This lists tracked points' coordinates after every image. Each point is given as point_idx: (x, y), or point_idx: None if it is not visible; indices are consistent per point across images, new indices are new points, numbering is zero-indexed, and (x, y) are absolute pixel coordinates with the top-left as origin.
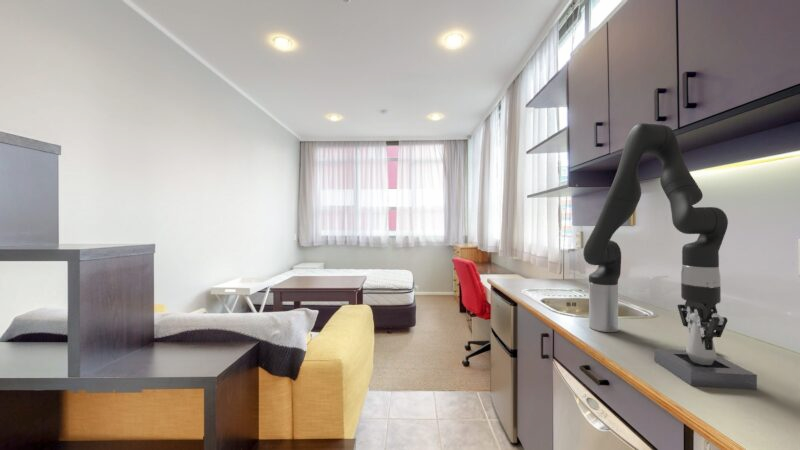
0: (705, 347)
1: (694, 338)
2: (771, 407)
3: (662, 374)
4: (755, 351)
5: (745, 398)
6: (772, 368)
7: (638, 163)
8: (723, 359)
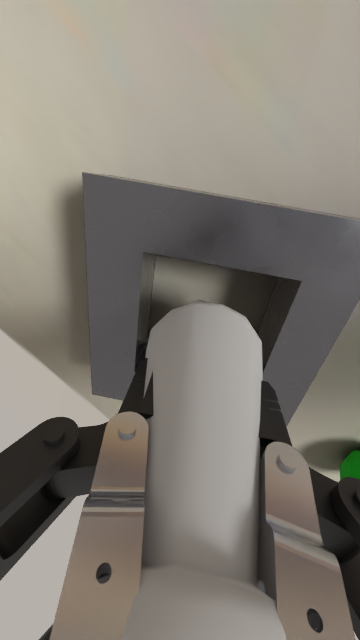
0: (145, 366)
1: (186, 377)
2: (14, 307)
3: (218, 127)
4: None
5: (50, 288)
6: None
7: None
8: None
